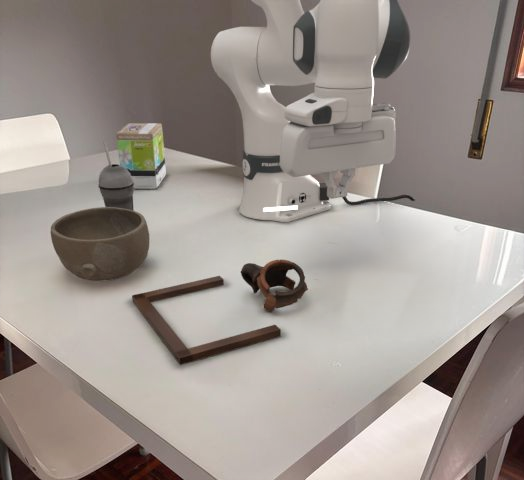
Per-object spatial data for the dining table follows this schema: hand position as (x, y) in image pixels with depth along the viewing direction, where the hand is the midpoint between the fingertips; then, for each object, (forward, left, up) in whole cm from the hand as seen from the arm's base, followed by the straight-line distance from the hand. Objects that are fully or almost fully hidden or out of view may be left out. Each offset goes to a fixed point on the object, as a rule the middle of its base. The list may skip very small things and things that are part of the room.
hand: (336, 196), depth 93 cm
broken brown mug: (+12, 0, -16) cm, 20 cm away
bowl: (+34, -26, -16) cm, 46 cm away
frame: (+25, 0, -16) cm, 30 cm away
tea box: (+8, -82, -16) cm, 84 cm away
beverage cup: (+26, -42, -16) cm, 52 cm away
